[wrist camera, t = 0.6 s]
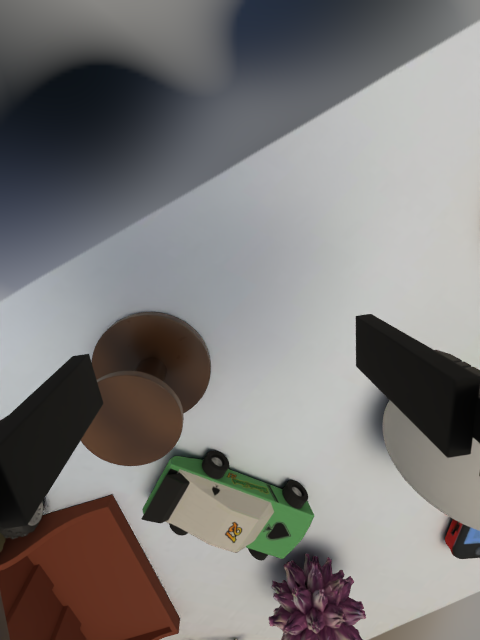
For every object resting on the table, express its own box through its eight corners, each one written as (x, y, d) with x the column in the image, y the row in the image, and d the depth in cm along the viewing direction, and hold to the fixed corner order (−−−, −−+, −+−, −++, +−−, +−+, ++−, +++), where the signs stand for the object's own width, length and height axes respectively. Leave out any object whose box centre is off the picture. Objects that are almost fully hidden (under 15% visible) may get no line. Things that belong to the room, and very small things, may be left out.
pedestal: (132, 288, 30) (94, 317, 21) (232, 351, 33) (239, 401, 24) (74, 380, 33) (16, 444, 23) (172, 431, 35) (156, 508, 26)
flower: (345, 562, 46) (282, 616, 45) (309, 515, 42) (239, 573, 41) (406, 657, 35) (324, 733, 34) (365, 606, 31) (271, 690, 30)
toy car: (276, 544, 42) (284, 585, 37) (142, 500, 38) (131, 539, 33) (316, 488, 39) (330, 525, 35) (177, 435, 36) (172, 468, 31)
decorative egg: (423, 465, 40) (541, 600, 25) (347, 430, 37) (430, 558, 23) (486, 390, 37) (657, 493, 23) (409, 346, 34) (546, 432, 20)
